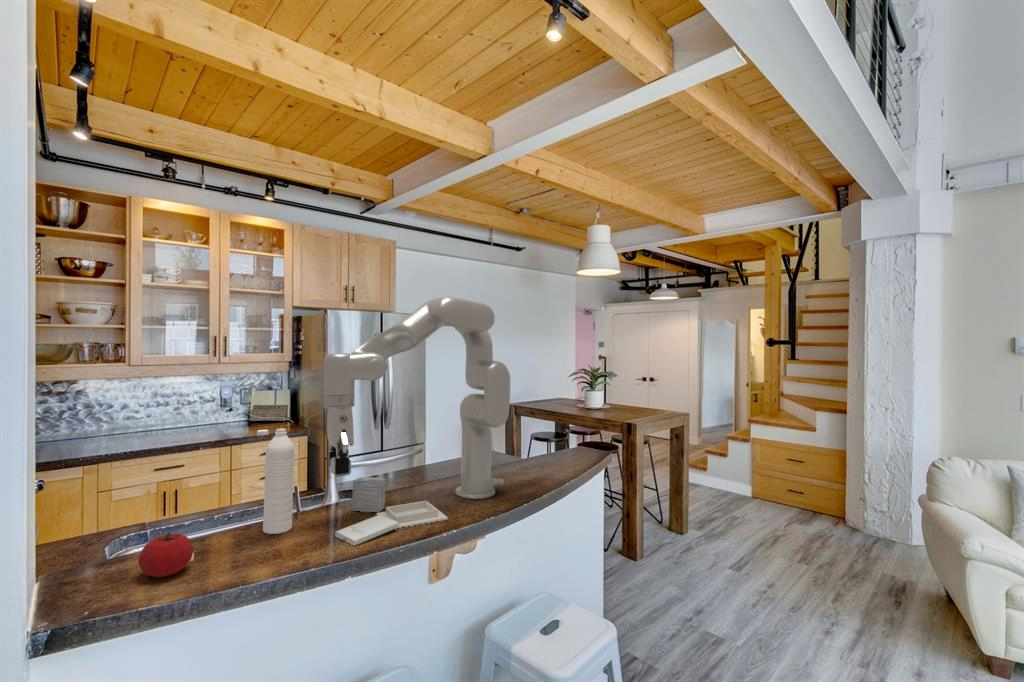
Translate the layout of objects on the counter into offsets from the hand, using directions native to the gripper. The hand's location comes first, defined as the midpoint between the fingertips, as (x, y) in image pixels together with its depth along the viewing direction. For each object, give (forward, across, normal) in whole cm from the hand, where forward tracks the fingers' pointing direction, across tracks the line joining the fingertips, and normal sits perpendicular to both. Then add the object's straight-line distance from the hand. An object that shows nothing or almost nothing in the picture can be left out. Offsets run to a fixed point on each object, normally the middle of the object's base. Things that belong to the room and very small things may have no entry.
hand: (338, 469), depth 120 cm
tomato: (+13, -11, +35) cm, 39 cm away
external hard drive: (+14, -10, -5) cm, 18 cm away
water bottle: (+14, +3, +15) cm, 21 cm away
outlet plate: (+15, -4, -18) cm, 24 cm away
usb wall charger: (+1, 0, 0) cm, 1 cm away
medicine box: (+15, +7, -9) cm, 19 cm away
